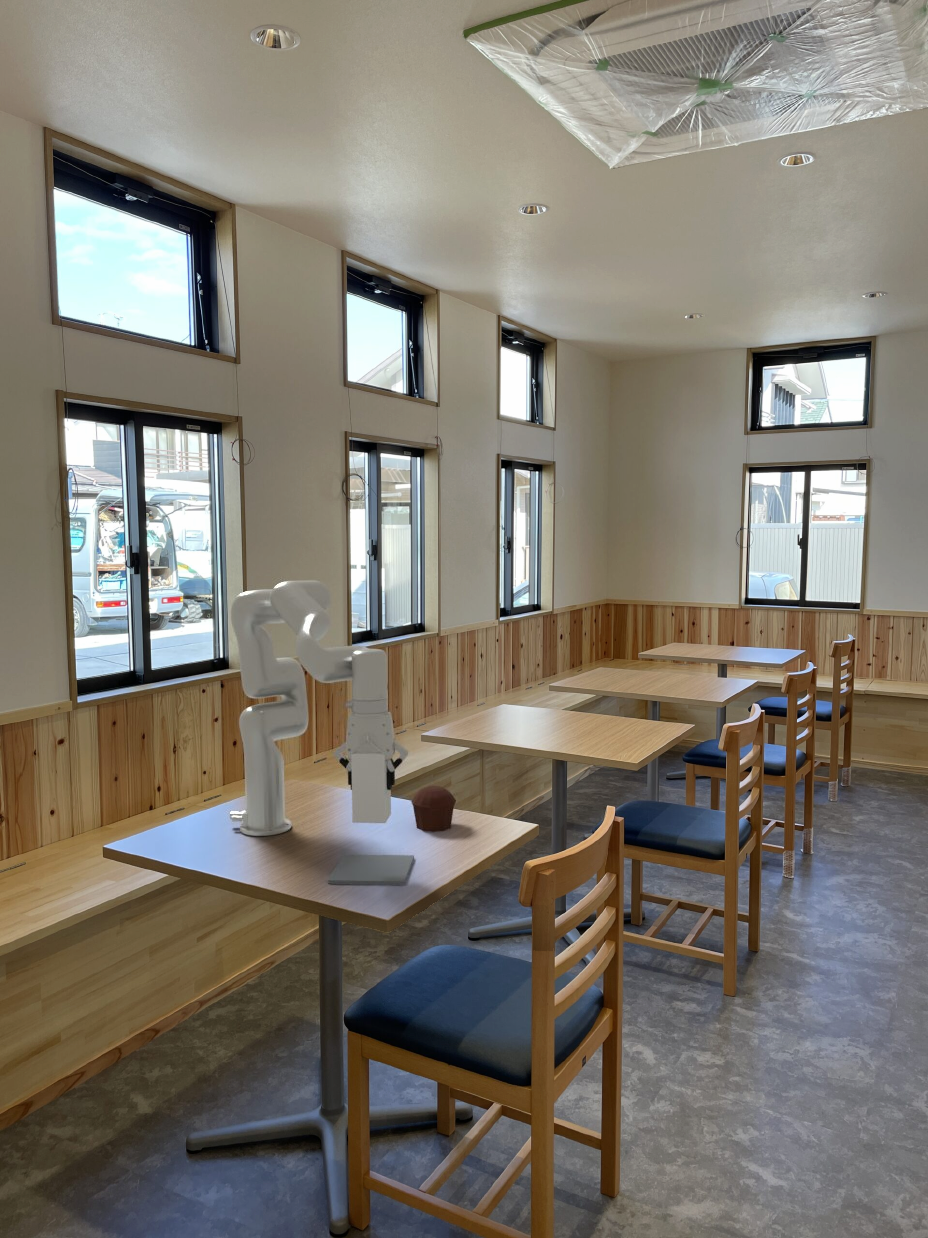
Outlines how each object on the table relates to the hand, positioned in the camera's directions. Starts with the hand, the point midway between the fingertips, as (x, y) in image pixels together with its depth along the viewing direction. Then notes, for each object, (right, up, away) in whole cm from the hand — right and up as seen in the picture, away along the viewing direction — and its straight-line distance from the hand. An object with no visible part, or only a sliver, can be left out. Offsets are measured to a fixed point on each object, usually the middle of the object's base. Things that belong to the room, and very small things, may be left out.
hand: (371, 787), depth 191 cm
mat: (0, -18, +1) cm, 18 cm away
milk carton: (0, -7, 0) cm, 7 cm away
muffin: (+12, -16, +33) cm, 38 cm away
